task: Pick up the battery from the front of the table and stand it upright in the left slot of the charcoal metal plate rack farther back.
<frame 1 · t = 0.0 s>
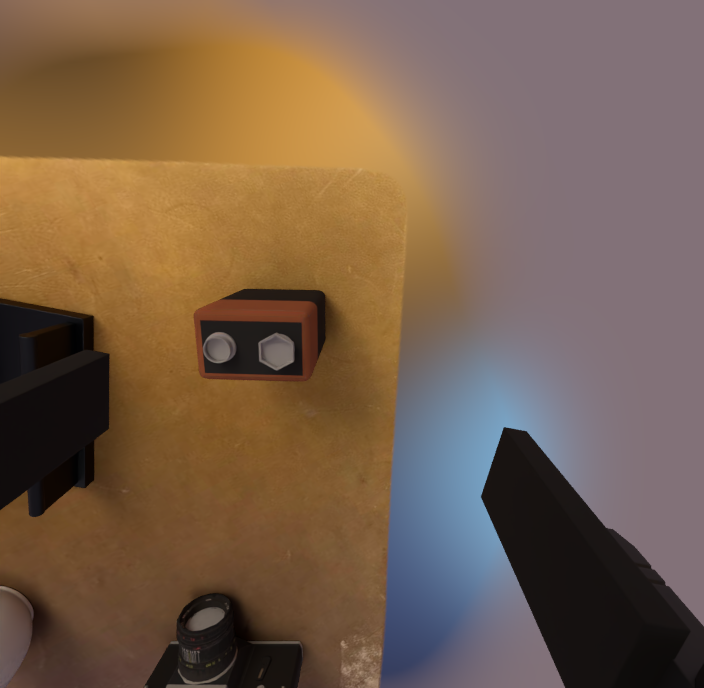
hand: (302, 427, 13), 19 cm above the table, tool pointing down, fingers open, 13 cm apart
battery: (284, 315, 31), on the table
trinket box: (7, 606, 41), on the table
camera: (232, 624, 40), on the table
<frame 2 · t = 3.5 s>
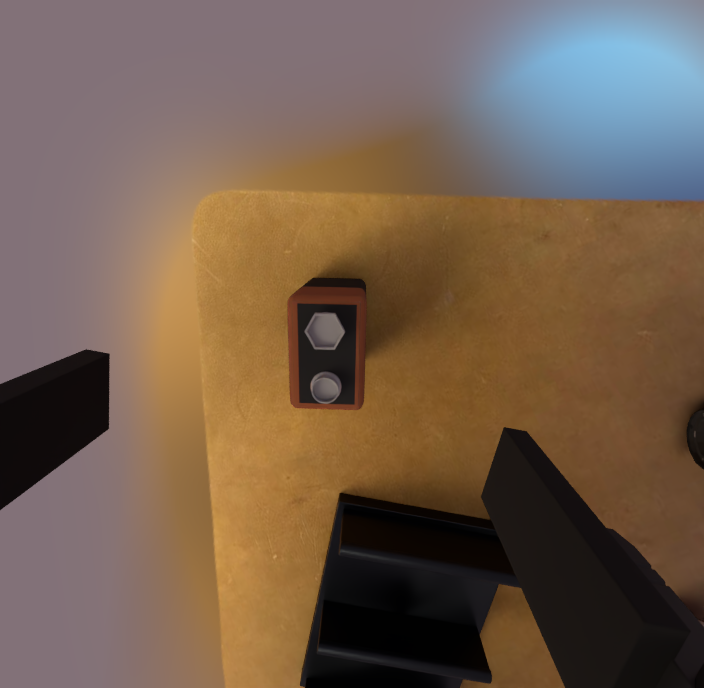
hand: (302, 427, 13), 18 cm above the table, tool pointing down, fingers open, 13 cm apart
battery: (337, 320, 30), on the table
plate rack: (398, 604, 38), on the table
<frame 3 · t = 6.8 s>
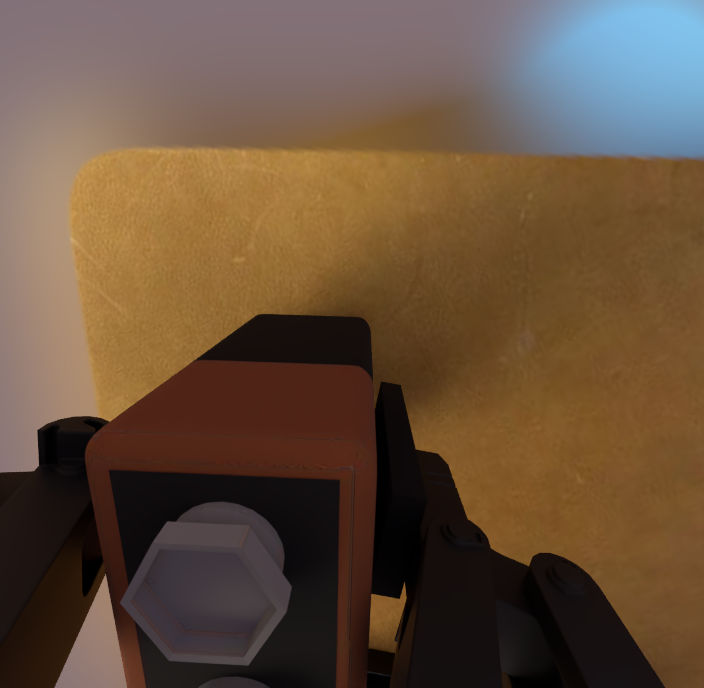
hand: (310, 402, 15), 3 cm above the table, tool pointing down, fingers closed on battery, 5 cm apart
battery: (312, 396, 15), point 2 cm above the table, touching gripper
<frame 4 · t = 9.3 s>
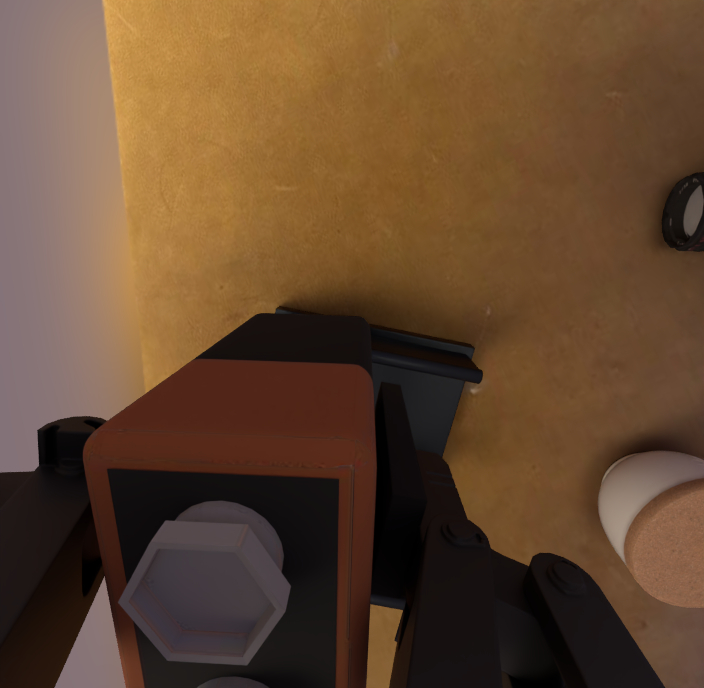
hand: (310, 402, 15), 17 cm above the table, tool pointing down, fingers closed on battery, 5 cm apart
battery: (312, 396, 15), point 17 cm above the table, touching gripper
plate rack: (348, 447, 34), on the table
trinket box: (634, 481, 35), on the table
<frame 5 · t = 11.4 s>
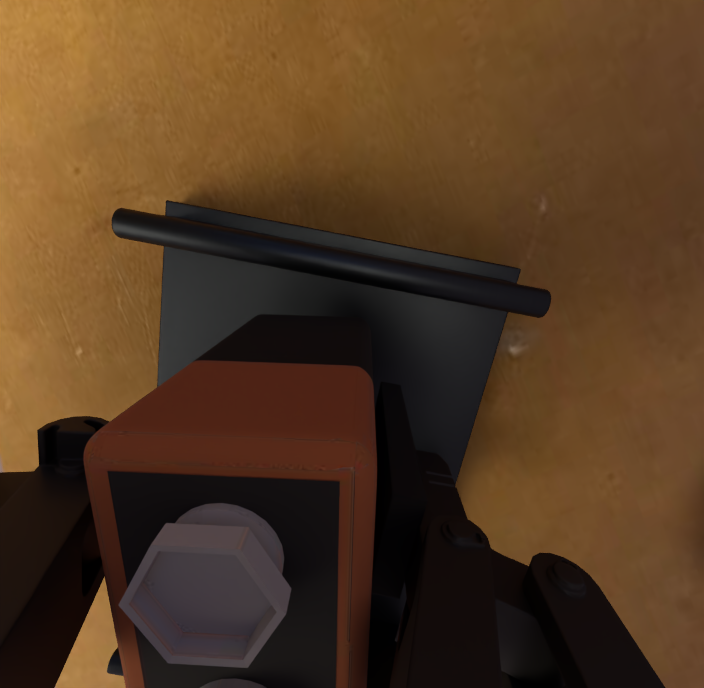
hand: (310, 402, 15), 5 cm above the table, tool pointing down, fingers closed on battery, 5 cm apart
battery: (312, 396, 15), point 5 cm above the table, touching gripper
plate rack: (309, 446, 21), on the table
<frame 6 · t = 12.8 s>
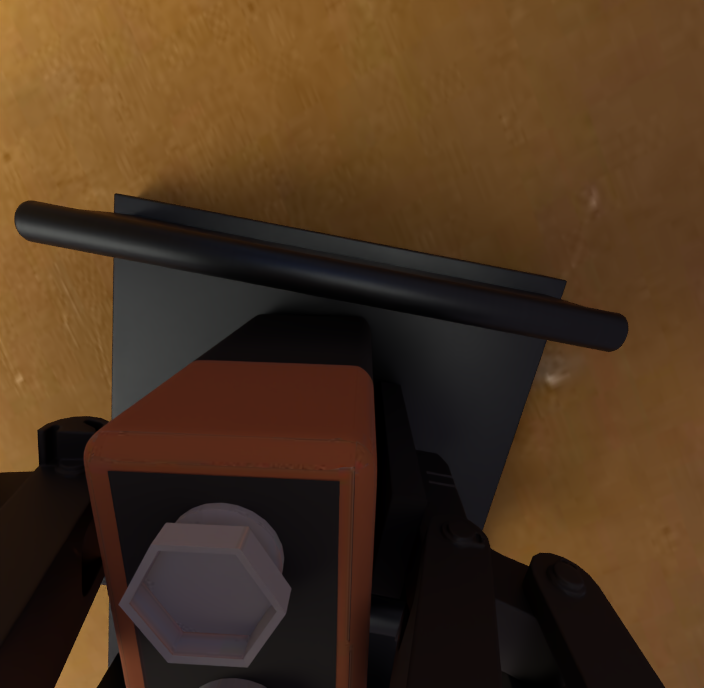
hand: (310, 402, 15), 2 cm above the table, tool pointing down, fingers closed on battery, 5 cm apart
battery: (312, 396, 15), point 1 cm above the table, touching gripper
plate rack: (300, 493, 17), on the table
when the fingers open (2 cm above the table, at t = 16.3 s): battery drops 1 cm, resting on plate rack.
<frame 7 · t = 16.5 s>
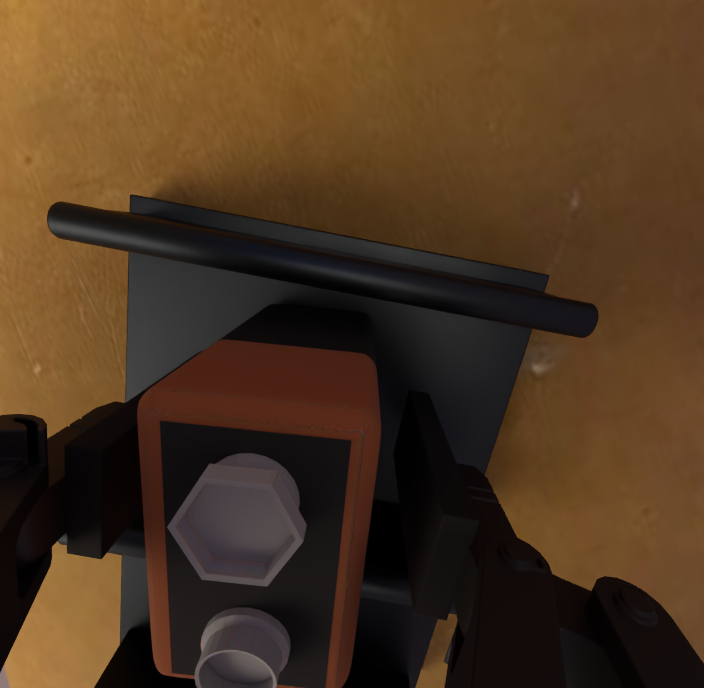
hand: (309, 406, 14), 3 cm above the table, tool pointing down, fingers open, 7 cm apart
battery: (314, 384, 16), point 1 cm above the table, touching plate rack
plate rack: (301, 476, 19), on the table
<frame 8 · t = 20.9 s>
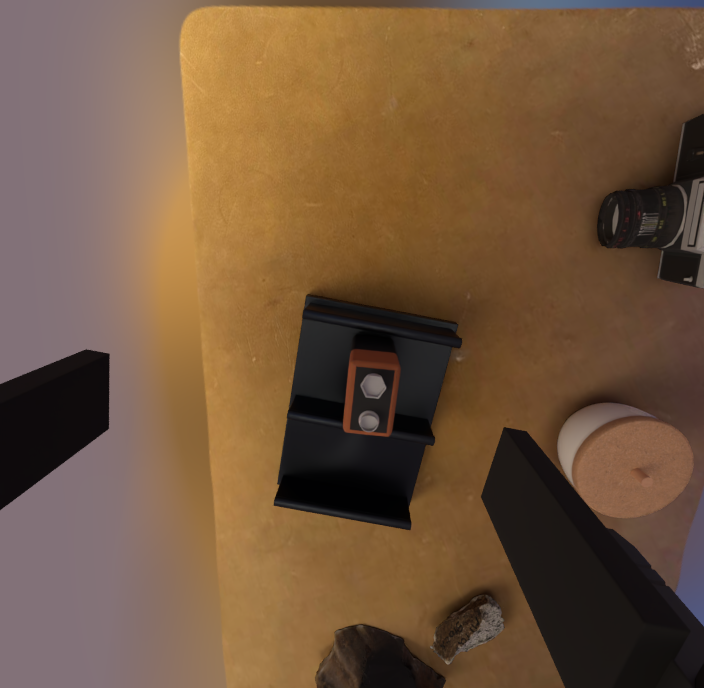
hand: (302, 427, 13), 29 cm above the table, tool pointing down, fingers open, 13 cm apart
battery: (369, 365, 41), point 1 cm above the table, touching plate rack
mineral specimen: (378, 662, 55), on the table
plate rack: (361, 405, 44), on the table
trinket box: (587, 430, 44), on the table
camera: (644, 207, 37), on the table
rock sample: (472, 610, 51), on the table
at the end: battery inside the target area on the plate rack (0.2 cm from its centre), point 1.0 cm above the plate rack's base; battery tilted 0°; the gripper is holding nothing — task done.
